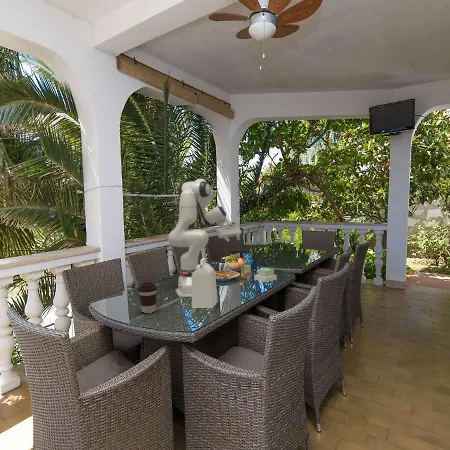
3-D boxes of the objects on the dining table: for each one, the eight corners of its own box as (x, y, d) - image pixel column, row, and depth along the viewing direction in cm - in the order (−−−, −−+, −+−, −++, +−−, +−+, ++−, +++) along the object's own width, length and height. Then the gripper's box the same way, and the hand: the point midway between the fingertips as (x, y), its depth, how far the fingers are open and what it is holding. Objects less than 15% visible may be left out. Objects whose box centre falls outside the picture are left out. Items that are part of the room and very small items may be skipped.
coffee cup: (159, 308, 193) (158, 281, 191) (156, 314, 183) (155, 286, 181) (141, 309, 192) (139, 282, 191) (137, 315, 182) (135, 286, 181)
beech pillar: (251, 277, 254) (250, 265, 253) (245, 278, 251) (245, 266, 250) (246, 276, 258) (246, 264, 257) (241, 277, 255) (240, 265, 254)
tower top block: (273, 275, 245) (273, 269, 245) (265, 277, 240) (265, 271, 240) (266, 273, 251) (265, 267, 251) (257, 275, 247) (257, 269, 246)
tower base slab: (276, 280, 245) (276, 275, 245) (265, 283, 238) (265, 277, 238) (265, 278, 254) (265, 272, 253) (254, 280, 247) (254, 275, 247)
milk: (212, 309, 188) (210, 261, 186) (191, 308, 191) (189, 260, 188) (217, 302, 200) (216, 256, 198) (197, 301, 202) (196, 256, 200)
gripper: (215, 225, 261) (224, 239, 254) (237, 222, 273) (246, 236, 266) (212, 230, 265) (220, 244, 258) (233, 227, 277) (242, 241, 270)
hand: (233, 240), depth 262 cm, fingers open, 8 cm apart
